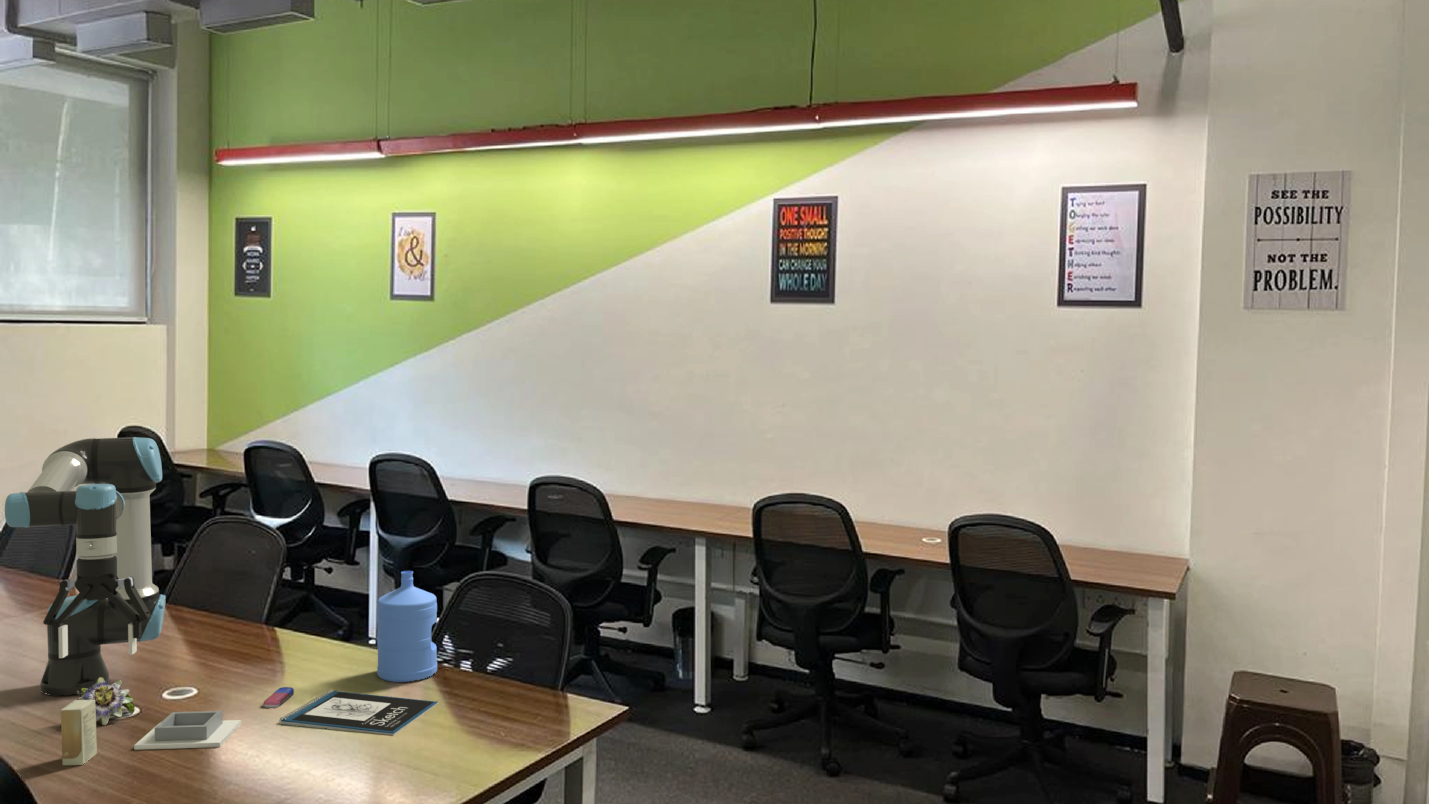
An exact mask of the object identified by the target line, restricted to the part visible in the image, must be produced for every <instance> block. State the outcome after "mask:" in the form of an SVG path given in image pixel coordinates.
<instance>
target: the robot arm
mask: <svg viewBox="0 0 1429 804" xmlns="http://www.w3.org/2000/svg"><path fill="white" fill-rule="evenodd" d="M157 444H158V443H157V442H156V441H155V440H154V439H152V438H149V437H136V436H130V437H128V436H127V437H107V438H105V437H104V438H103V437H102V438H95V437H93V438H84V439H79V440H76V441H73V442H70V443H68V444H66V445H64V446H61V447H59V448H57V449H56V450H54V451H53V452H52V453H50V455H48V457H47V458H45V460H44V462H43V464H42V467H41V473H40V474H39V476H37V478H36V479H35V481H34V483H33V484H32V485H31V486H30V488H29V489H28V490H27V492H24V491H20V492H14V493H10V494H8V495H7V497H6V498H5V501H4V519H5V522H6V523H5V524H7V526H8V527H11V528H24V529H26V528H27V529H28V528H36V527H37V528H38V527H51V526H52V527H54V526H55V527H56V526H74V525H75V526H76V527H75V529H76V538H75V540H76V542H75V543H76V549H75V550H76V551H75V552H76V556H77V557H78V558H77V560H76V580H71V579H69V578H66V579H64V580H61V581H60V582H59V589H58V593H57V594H56V597H55V598H54V600H53V602H52V603H51V604H50V605H49V606H48V607H47V608H48V609H47V613H46V615H45V617H44V619H43V623H42V624H43V625H45V626H46V627H47V631H46V632H47V654H48V655H47V657H48V659H47V663H46V666H45V669H44V672H43V675H42V677H41V680H40V692H41V691H42V692H43V693H47V694H50V695H49V696H53V695H64V696H72V695H71V694H74V695H78V694H77V691H78V692H80V693H81V689H82V688H86V689H88V688H89V687H92V685H94V684H95V683H96V682H97V680H98V678H100V677H101V678H103V679H104V681H107V683H106V684H107V685H108V684H109V683H110V673H109V670H108V668H107V666H106V664H105V660H104V659H103V655H102V653H101V650H102V649H101V648H102V647H101V645H113V644H125V643H128V656H130V655H131V656H132V655H134V654H135V653H137V651H138V649H137V648H138V646H137V644H138V643H142V642H147V641H154V640H156V639H158V638H159V637H160V635H161V633H162V628H163V623H164V618H165V616H164V615H165V611H166V599H167V597H166V595H165V594H160V590H159V587H158V586H157V585H155V584H154V583H153V572H152V571H153V569H152V568H153V567H152V566H153V565H152V536H151V534H152V533H151V527H152V526H151V503H150V502H151V499H150V495H151V494H152V493H153V492H154V491H155V490H156V489H157V483H160V482H161V481H162V480H163V469H162V468H163V467H162V466H163V465H162V459H161V454H160V449H159V446H158V445H157ZM76 487H77V488H76ZM74 488H76V490H74ZM73 588H75V589H76V590H77V591H78V594H76V595H71V596H68V595H69V593H70V591H71V590H73ZM42 692H41V693H42ZM43 693H42V694H43Z"/></svg>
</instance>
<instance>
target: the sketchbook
mask: <svg viewBox="0 0 1429 804" xmlns="http://www.w3.org/2000/svg"><path fill="white" fill-rule="evenodd" d="M438 703H439V702H438V701H434V700H426V699H425V700H424V699H416V698H415V699H414V698H406V697H397V696H387V695H377V694H367V693H359V692H357V693H356V692H351V691H349V692H348V691H339V690H331V689H329V690H327V691H326V692H324V693H321V695H319V696H317V697H315V698H314V699H311V700H309V701H308V702H307V703H304V704H303V705H301V706H299V707H297V708H296V709H294V710H292V711H290V712H289V713H286V714H285V715H283V716H282V717H281V716H280V718H279V724H280V725H284V726H293V725H294V726H295V727H303V726H305V728H314V729H315V728H316V729H324V728H327V729H326V730H336V731H345V732H354V731H355V732H356V733H364V734H365V733H367V734H378V735H385V734H386V736H395V735H396V734H398V733H399V732H401V731H402V730H403V729H405V728H406V727H408V726H409V725H410V724H412V723H413V722H414V720H415V719H416V720H417V719H419V718H420V717H421V716H423V715H424V714H425V713H427V712H429V711H430V710H431V709H433V708H434V707H436V706H437V705H438ZM422 714H423V715H422ZM419 716H420V717H419ZM418 717H419V718H418ZM416 720H415V721H416ZM411 722H412V723H411ZM296 725H298V726H296ZM407 725H408V726H407ZM294 726H293V727H294Z"/></svg>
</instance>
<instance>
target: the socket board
mask: <svg viewBox="0 0 1429 804" xmlns="http://www.w3.org/2000/svg"><path fill="white" fill-rule="evenodd" d="M241 725H242V719H236V720H235V719H231V720H230V719H229V720H228V719H226V720H223V710H210V711H209V710H208V711H207V710H206V711H199V710H198V711H173V712H171V713H170V714H169V715H168V716H167V717H165V718H164V719H163V720H162V721H160V722H159V723H158V724H157V725H155V726H154V727H153V728H152V729H151V730H150V731H149V732H148V733H146V734H145V735H144V736H143V737H142V738H140V739H139V740H138V741H137V742H136V743H135V744H134V745H133V749H134V751H135V750H136V751H139V750H165V749H170V750H171V749H198V748H199V749H200V748H201V749H202V748H203V749H204V748H221V747H222V745H223V744H224V743H225V742H226V741H227V740H228V739H230V737H231V736H232V735H233V734H234V733H235V732H236V731H237V730H238V728H239V727H241ZM233 732H234V733H233ZM231 734H232V735H231Z"/></svg>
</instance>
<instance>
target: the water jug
mask: <svg viewBox="0 0 1429 804" xmlns="http://www.w3.org/2000/svg"><path fill="white" fill-rule="evenodd" d="M400 574H401V578H400V583H401V584H400V587H398V588H396V589H394V590H392V591H390V592H388V593H386V594H384V595H382V596H380V597H378V600H377V607H376V615H377V637H376V638H377V639H376V646H377V666H376V668H377V670H376V671H377V673H376V674H377V676H378V677H379V678H380V679H381V680H383V681H387V682H391V681H392V683H407V682H408V683H410V682H409V681H412V682H415V681H414V680H418V681H420V680H419V679H422V680H426V679H428V678H430V677H433V674H434V673H435V674H437V673H436V672H438V660H437V655H438V654H437V652H438V651H437V644H435V643H434V642H433V641H432V627H433V625H435V623H436V622H437V621H438V620H437V612H438V603H437V596H436V595H435V594H434V593H432V592H429V591H426V590H424V589H421V588H419V587H416V586H414V577H413V574H414V571H413V570H403V571H401V572H400ZM435 674H434V675H435ZM429 676H430V677H429ZM427 677H428V678H427ZM425 678H426V679H425Z"/></svg>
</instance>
